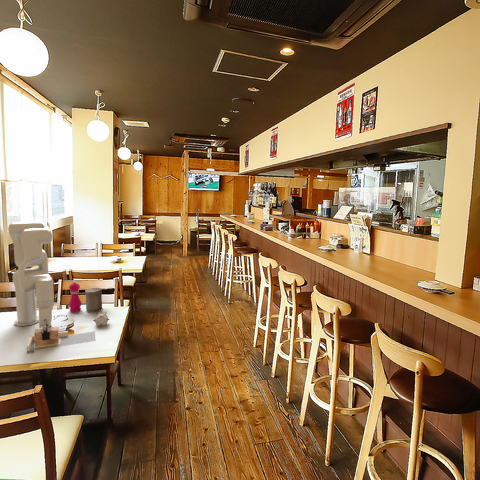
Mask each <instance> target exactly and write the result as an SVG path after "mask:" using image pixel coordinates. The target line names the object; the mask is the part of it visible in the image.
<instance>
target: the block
mask: <svg viewBox="0 0 480 480" xmlns="http://www.w3.org/2000/svg"><path fill="white" fill-rule="evenodd" d="M59 329H60V328H59V326H58V325H57V326H51V327H50V328H49V331H50V339H49V340H42V328H36V329H35V330H34V335H35V347H37V346H44V345H50V344H57V343H59V332H60V331H59ZM47 330H48V328H47Z"/></svg>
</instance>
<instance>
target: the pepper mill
mask: <svg viewBox="0 0 480 480" xmlns="http://www.w3.org/2000/svg"><path fill="white" fill-rule="evenodd" d="M68 289H69V290H70V295H71V297H70V300H69V302H68V307H69V308H70V309H69V312H70V313H73V314H75V313H79V312H81V305H82V301H81V300H80V297H79V293H80V291H79V290H80V284H79V283H78V282H77V281H75V280H73V281H72V283H71V284H70V285H69V287H68Z"/></svg>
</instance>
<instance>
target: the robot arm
mask: <svg viewBox="0 0 480 480" xmlns="http://www.w3.org/2000/svg"><path fill="white" fill-rule="evenodd" d="M7 231H8V234H9V238H10V239H11V241H12V245H13V255H14V264H15V266H16V267H18V268H17V270H16V271H14V272H13V274H12V282H13V286H14V290H15V302H16V304H15V305H16V318H17V319H16V320H14V322H13V323H14V325H15V326H17V327H25V326H32V325H35V324H37V323H38V329H42V340H49V339H50V331H49V328H50V327H52V320H53V312H52V311H53V310H52V308H53V307H54V306H55V291H54V280H53V277H52V276H51V274H49V260H48V259H49V258H48V253H47V252H46V251H45V250H44V249H43V246H42V245H43V244H44V245H45V244H50V243H52V242H53V233H52V231H51V229H50V227H49V226H48V225H47V224H46V223H45V222H43V221H16V222H11V223H9V224H8V227H7ZM29 267H32V268H29ZM37 309H38V315H37ZM47 328H48V330H47Z"/></svg>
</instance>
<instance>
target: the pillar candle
mask: <svg viewBox="0 0 480 480" xmlns="http://www.w3.org/2000/svg"><path fill="white" fill-rule="evenodd" d="M84 291H85V293H84V294H85V309H86V312H87V313H97V312H100V311H102V310H103V299H102V298H103V297H102V296H103V295H102V288H101V287H90V288H87V289H85V290H84ZM101 309H102V310H101ZM99 310H100V311H99ZM96 311H97V312H96Z"/></svg>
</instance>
